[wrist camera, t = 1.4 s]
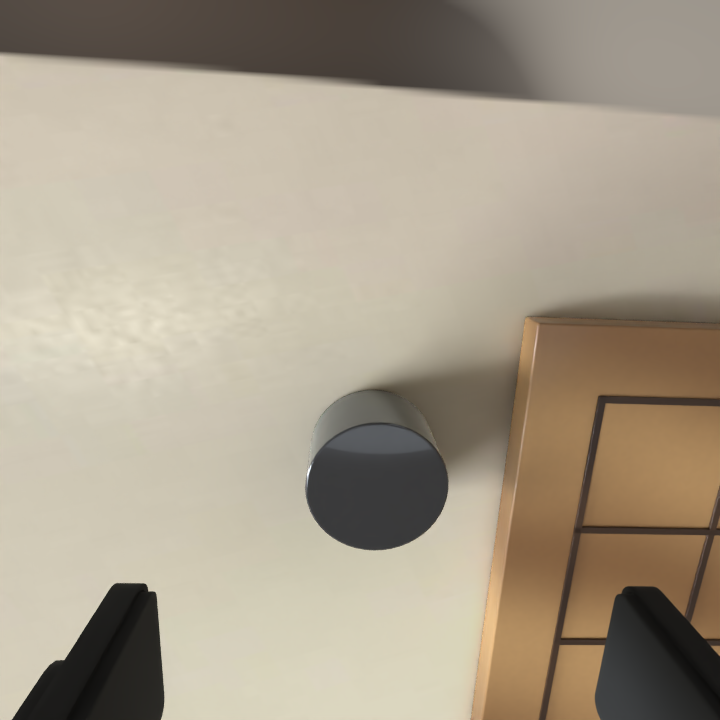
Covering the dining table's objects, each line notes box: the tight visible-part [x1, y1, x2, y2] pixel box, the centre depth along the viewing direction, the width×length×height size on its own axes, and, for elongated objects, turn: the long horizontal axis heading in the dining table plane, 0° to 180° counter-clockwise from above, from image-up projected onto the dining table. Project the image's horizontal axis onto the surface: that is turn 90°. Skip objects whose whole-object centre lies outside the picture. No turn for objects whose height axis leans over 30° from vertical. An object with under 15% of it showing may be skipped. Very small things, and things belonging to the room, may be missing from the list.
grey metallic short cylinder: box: [305, 390, 448, 550], centre depth 16 cm, size 4×4×3 cm
